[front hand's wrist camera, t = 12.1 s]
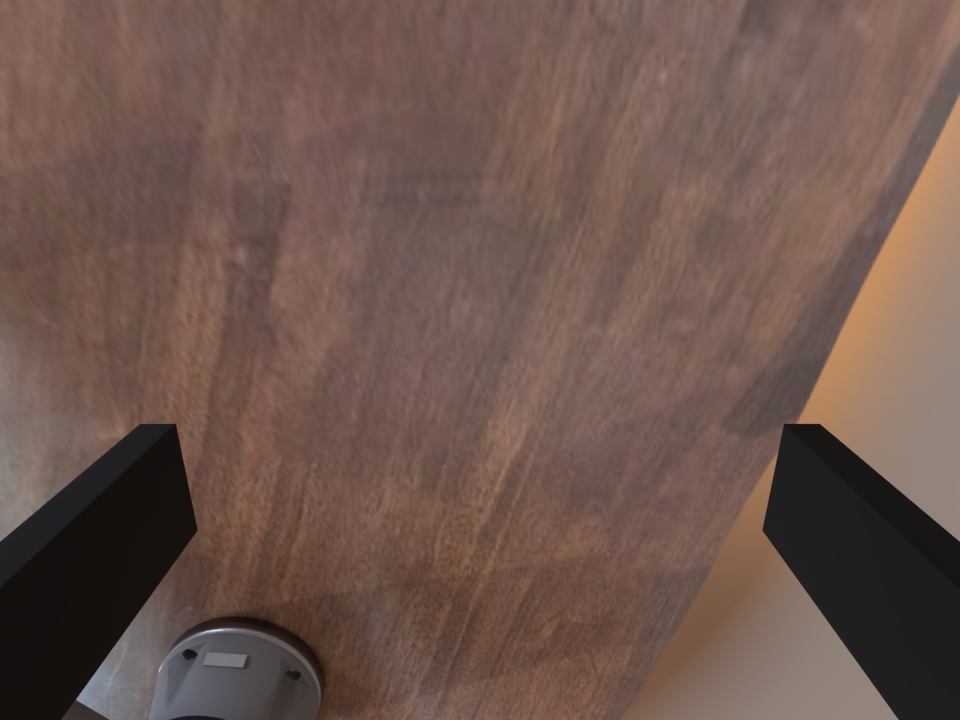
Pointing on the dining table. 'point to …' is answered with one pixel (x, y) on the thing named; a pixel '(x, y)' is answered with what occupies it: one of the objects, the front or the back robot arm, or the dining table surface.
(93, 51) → the dining table surface
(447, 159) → the dining table surface
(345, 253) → the dining table surface
